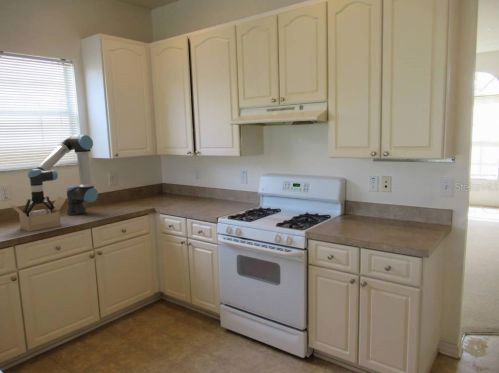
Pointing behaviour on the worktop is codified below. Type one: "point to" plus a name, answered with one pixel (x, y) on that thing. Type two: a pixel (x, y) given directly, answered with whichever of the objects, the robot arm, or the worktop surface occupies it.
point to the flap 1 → (17, 209)
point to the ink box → (38, 212)
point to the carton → (40, 221)
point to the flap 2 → (59, 203)
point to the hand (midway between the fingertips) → (40, 220)
